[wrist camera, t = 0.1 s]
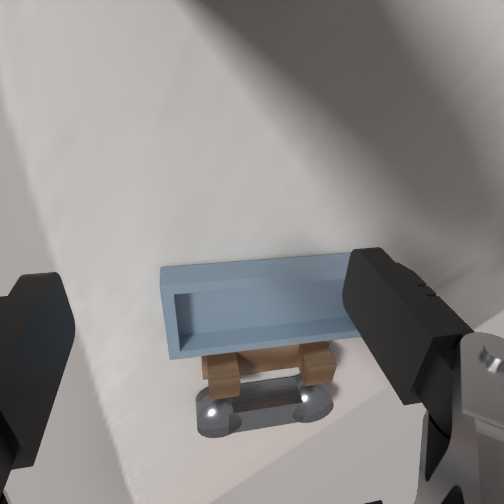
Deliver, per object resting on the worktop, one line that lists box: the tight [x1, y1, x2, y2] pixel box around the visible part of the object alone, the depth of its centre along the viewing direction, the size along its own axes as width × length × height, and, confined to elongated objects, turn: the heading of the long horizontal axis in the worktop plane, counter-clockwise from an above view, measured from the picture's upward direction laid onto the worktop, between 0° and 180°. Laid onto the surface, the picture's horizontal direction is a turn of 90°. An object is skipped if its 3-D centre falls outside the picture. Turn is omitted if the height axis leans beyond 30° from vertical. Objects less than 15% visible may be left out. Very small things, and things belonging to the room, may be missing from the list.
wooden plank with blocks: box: [202, 340, 337, 400], centre depth 37 cm, size 5×14×4 cm, turn 88°
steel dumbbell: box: [196, 374, 333, 438], centre depth 41 cm, size 5×16×4 cm, turn 88°
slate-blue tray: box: [160, 253, 361, 360], centre depth 33 cm, size 9×20×2 cm, turn 88°
